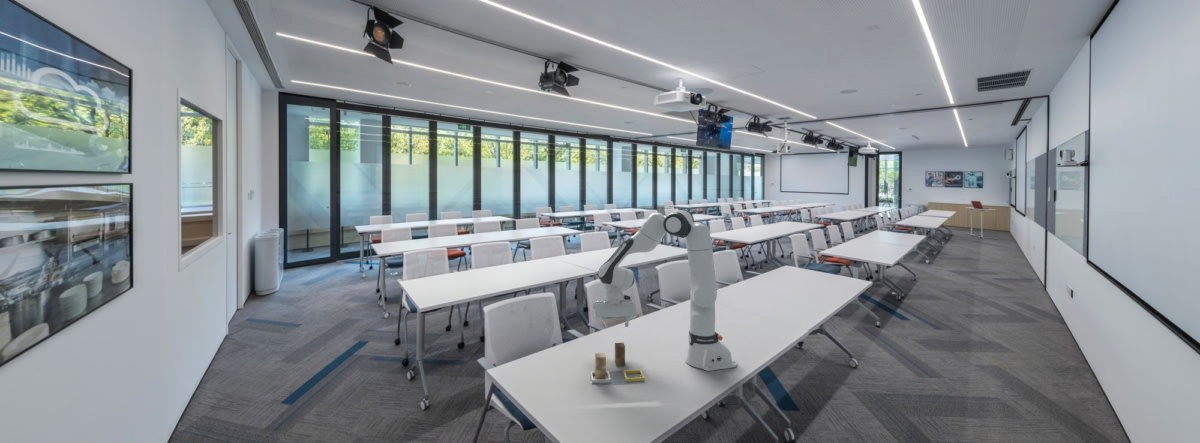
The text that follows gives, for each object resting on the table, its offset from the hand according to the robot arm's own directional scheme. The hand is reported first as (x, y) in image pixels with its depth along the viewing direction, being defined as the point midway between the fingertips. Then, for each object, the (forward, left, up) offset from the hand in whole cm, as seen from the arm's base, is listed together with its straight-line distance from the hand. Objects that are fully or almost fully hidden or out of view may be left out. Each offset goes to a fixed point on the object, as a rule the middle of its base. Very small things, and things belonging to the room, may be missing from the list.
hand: (616, 326), depth 202 cm
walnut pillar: (0, +10, -15) cm, 18 cm away
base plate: (+3, +23, -15) cm, 27 cm away
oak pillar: (+10, +23, -14) cm, 29 cm away
